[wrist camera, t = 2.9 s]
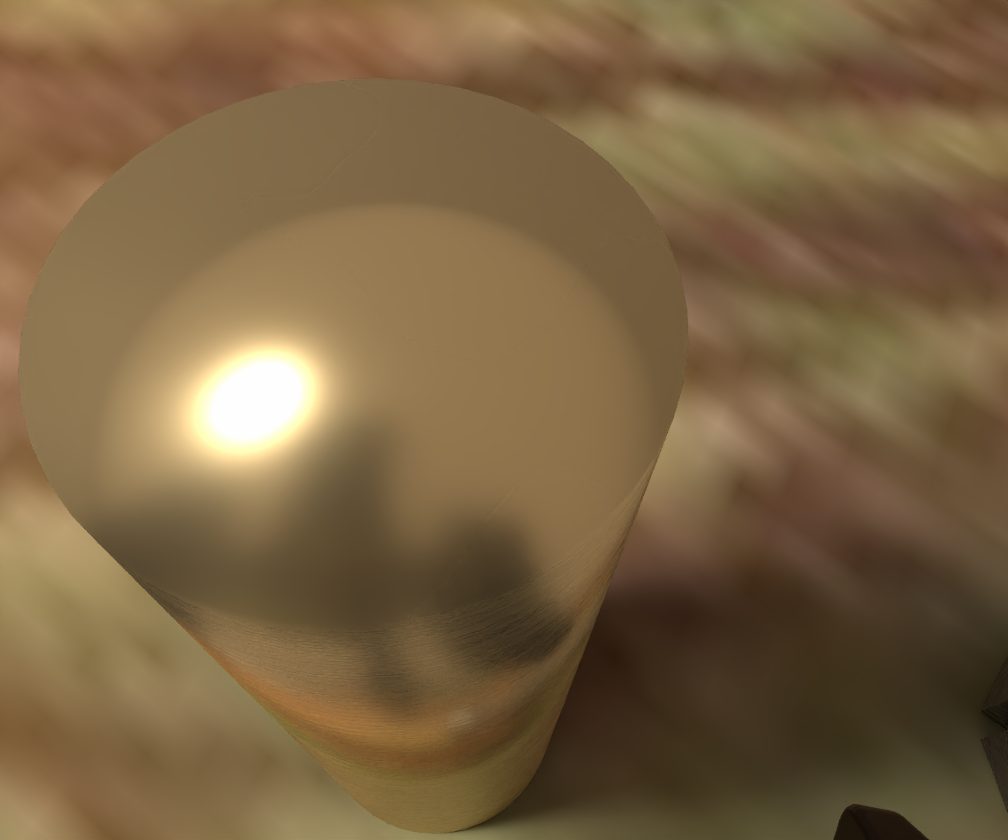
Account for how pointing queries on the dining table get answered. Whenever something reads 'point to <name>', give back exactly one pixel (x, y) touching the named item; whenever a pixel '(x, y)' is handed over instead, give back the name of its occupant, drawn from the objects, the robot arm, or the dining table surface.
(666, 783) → the dining table surface
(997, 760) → the chain joint
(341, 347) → the brass pin
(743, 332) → the dining table surface
